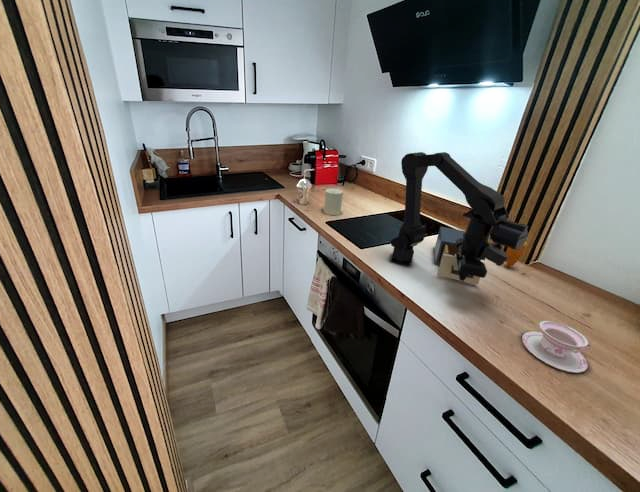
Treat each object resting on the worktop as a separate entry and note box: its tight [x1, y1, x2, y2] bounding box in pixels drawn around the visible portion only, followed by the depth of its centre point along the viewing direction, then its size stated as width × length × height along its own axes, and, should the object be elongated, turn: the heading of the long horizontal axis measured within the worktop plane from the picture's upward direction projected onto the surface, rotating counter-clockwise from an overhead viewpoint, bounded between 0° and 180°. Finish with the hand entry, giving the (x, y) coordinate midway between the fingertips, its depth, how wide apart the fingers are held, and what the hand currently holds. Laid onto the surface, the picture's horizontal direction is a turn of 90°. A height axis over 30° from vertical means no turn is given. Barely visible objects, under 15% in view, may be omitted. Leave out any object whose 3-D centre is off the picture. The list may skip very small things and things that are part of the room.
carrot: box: [505, 240, 528, 268], centre depth 101 cm, size 5×5×15 cm
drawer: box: [437, 244, 486, 285], centre depth 96 cm, size 17×12×8 cm
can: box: [322, 187, 344, 216], centre depth 148 cm, size 9×9×12 cm
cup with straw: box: [296, 168, 315, 205], centre depth 158 cm, size 8×9×20 cm
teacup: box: [521, 320, 592, 374], centre depth 68 cm, size 12×12×6 cm
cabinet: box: [434, 226, 466, 266], centre depth 106 cm, size 14×13×10 cm
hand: (461, 279), depth 88 cm, fingers closed
